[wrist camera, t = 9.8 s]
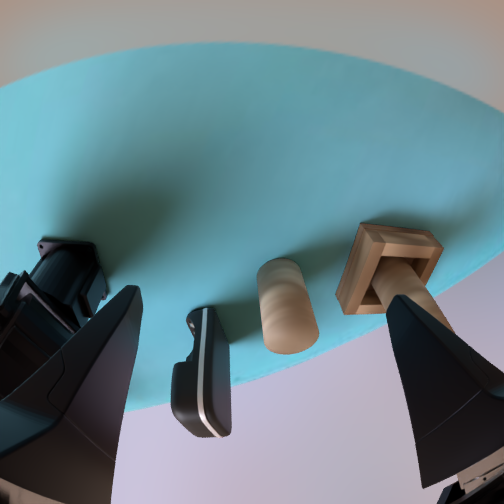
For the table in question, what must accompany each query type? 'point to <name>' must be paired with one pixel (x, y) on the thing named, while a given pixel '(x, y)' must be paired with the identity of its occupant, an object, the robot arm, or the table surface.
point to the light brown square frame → (368, 255)
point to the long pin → (403, 286)
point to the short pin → (285, 308)
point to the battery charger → (204, 379)
